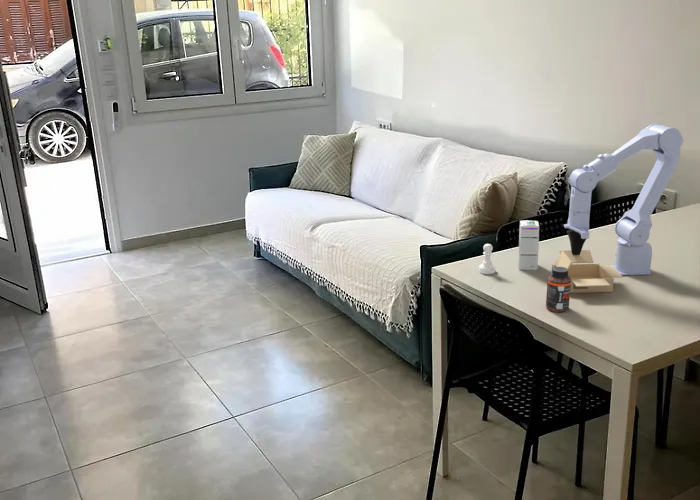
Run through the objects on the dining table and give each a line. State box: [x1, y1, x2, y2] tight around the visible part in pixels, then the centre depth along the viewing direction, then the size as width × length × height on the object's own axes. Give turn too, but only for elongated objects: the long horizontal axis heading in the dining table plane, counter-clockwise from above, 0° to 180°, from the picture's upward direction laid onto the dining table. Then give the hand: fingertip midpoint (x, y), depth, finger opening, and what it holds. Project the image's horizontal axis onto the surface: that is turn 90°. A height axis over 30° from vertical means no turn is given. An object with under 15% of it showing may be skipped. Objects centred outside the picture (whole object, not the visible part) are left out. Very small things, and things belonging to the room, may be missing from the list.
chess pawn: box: [478, 243, 496, 275], centre depth 201 cm, size 5×5×9 cm
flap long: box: [554, 250, 573, 269], centre depth 188 cm, size 1×9×4 cm, turn 179°
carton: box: [550, 263, 624, 294], centre depth 188 cm, size 17×16×4 cm
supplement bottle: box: [545, 267, 571, 313], centre depth 174 cm, size 6×6×11 cm
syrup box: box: [517, 219, 540, 271], centre depth 203 cm, size 6×6×14 cm
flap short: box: [558, 249, 594, 264], centre depth 196 cm, size 9×1×4 cm
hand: (575, 254), depth 196 cm, fingers closed
